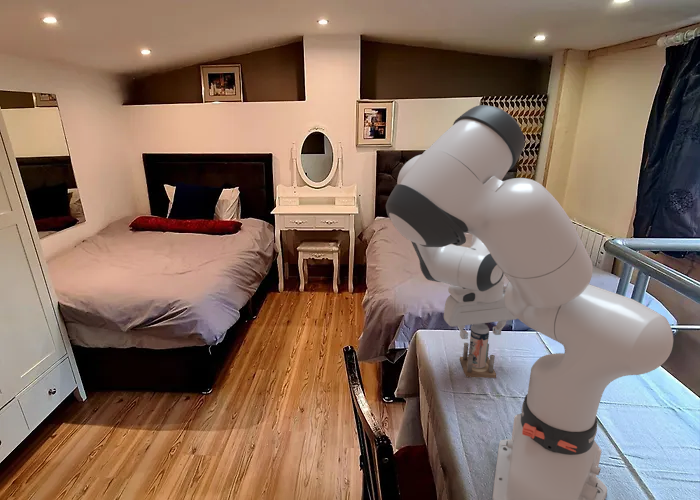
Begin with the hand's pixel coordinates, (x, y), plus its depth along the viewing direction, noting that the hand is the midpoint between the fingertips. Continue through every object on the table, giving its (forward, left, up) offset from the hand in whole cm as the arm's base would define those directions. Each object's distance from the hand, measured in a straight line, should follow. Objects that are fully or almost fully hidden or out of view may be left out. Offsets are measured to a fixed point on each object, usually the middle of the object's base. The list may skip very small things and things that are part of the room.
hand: (480, 335), depth 100 cm
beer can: (0, 0, -9) cm, 9 cm away
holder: (0, 0, -10) cm, 10 cm away
